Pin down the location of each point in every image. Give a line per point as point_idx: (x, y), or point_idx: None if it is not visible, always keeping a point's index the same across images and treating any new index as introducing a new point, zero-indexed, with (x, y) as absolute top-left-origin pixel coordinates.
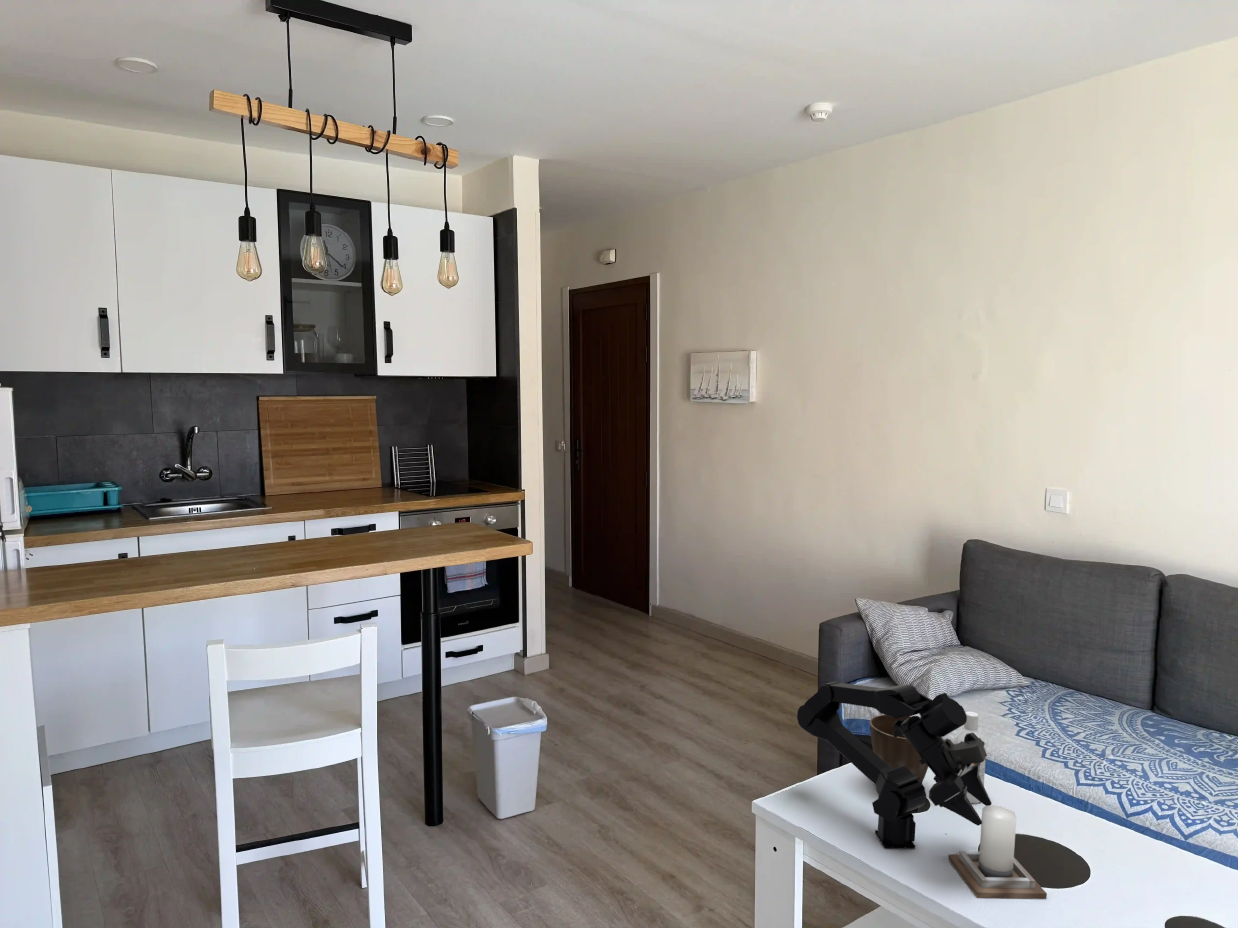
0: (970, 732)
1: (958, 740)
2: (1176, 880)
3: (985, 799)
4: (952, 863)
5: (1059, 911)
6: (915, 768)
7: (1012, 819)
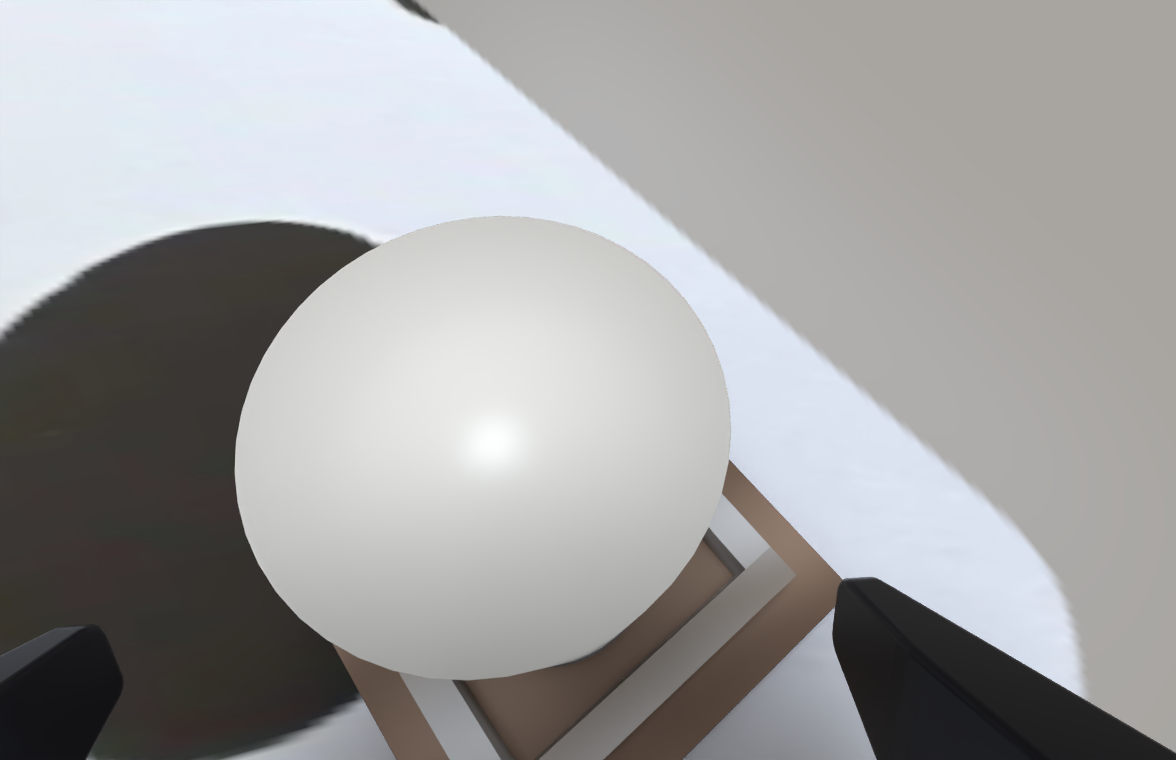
0: None
1: None
2: (154, 24)
3: (15, 741)
4: None
5: (653, 265)
6: None
7: (572, 239)
